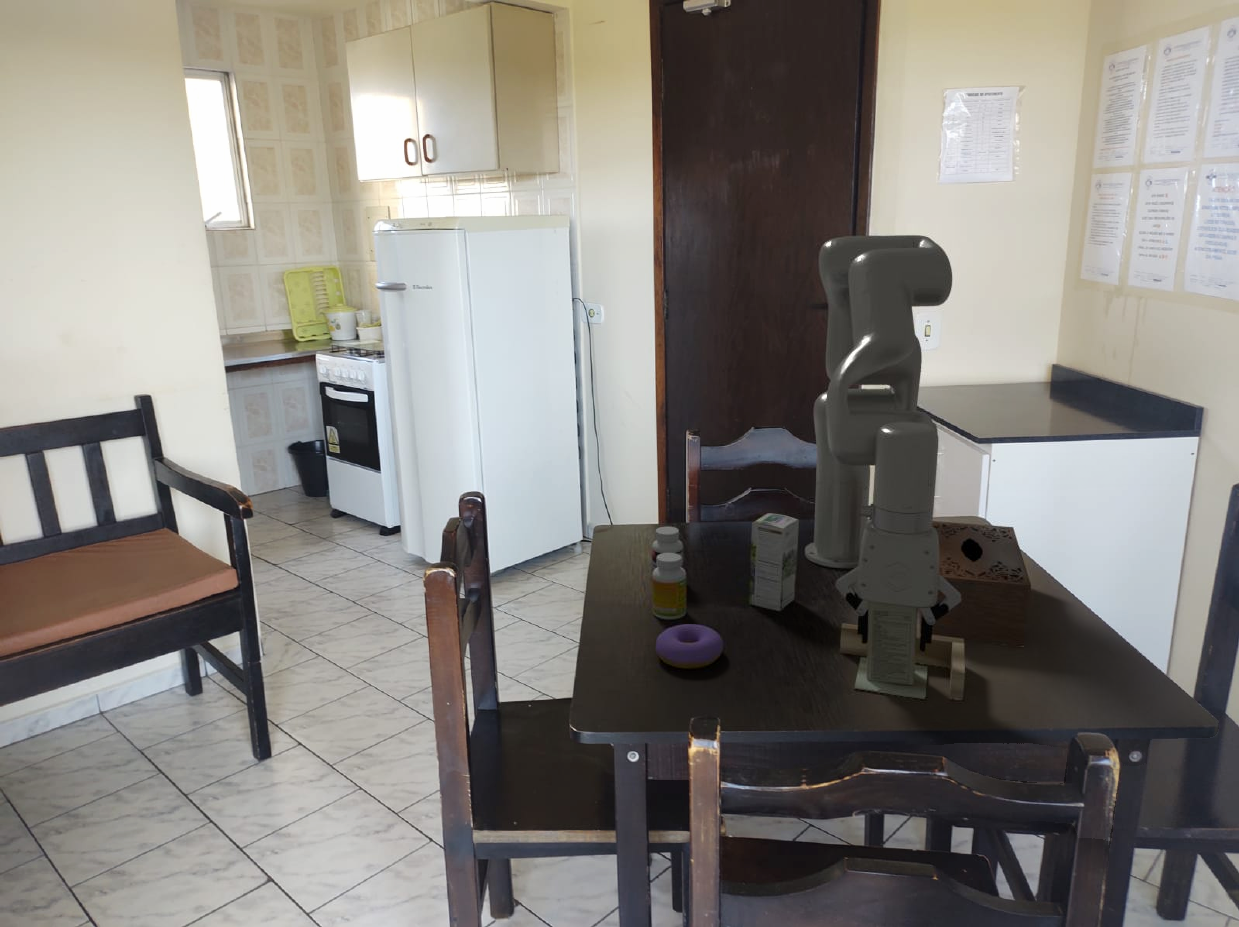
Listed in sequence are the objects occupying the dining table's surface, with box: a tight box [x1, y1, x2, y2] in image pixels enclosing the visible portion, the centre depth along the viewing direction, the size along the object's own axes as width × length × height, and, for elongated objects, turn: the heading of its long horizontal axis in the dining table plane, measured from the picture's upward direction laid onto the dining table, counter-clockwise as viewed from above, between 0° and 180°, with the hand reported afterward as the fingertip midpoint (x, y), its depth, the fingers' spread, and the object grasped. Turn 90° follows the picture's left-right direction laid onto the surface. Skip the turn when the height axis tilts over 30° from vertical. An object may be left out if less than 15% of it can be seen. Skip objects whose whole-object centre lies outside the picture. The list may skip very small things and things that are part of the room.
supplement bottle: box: [651, 553, 687, 621], centre depth 140 cm, size 5×5×10 cm
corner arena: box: [839, 622, 966, 700], centre depth 120 cm, size 12×16×4 cm
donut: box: [655, 623, 724, 670], centre depth 127 cm, size 10×9×5 cm
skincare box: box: [866, 602, 918, 685], centre depth 118 cm, size 6×4×12 cm
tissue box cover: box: [919, 520, 1032, 647], centre depth 140 cm, size 26×14×10 cm, turn 162°
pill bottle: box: [651, 526, 684, 576], centre depth 152 cm, size 5×5×10 cm
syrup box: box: [748, 512, 800, 612], centre depth 142 cm, size 6×6×14 cm
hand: (893, 642), depth 118 cm, fingers open, 6 cm apart
